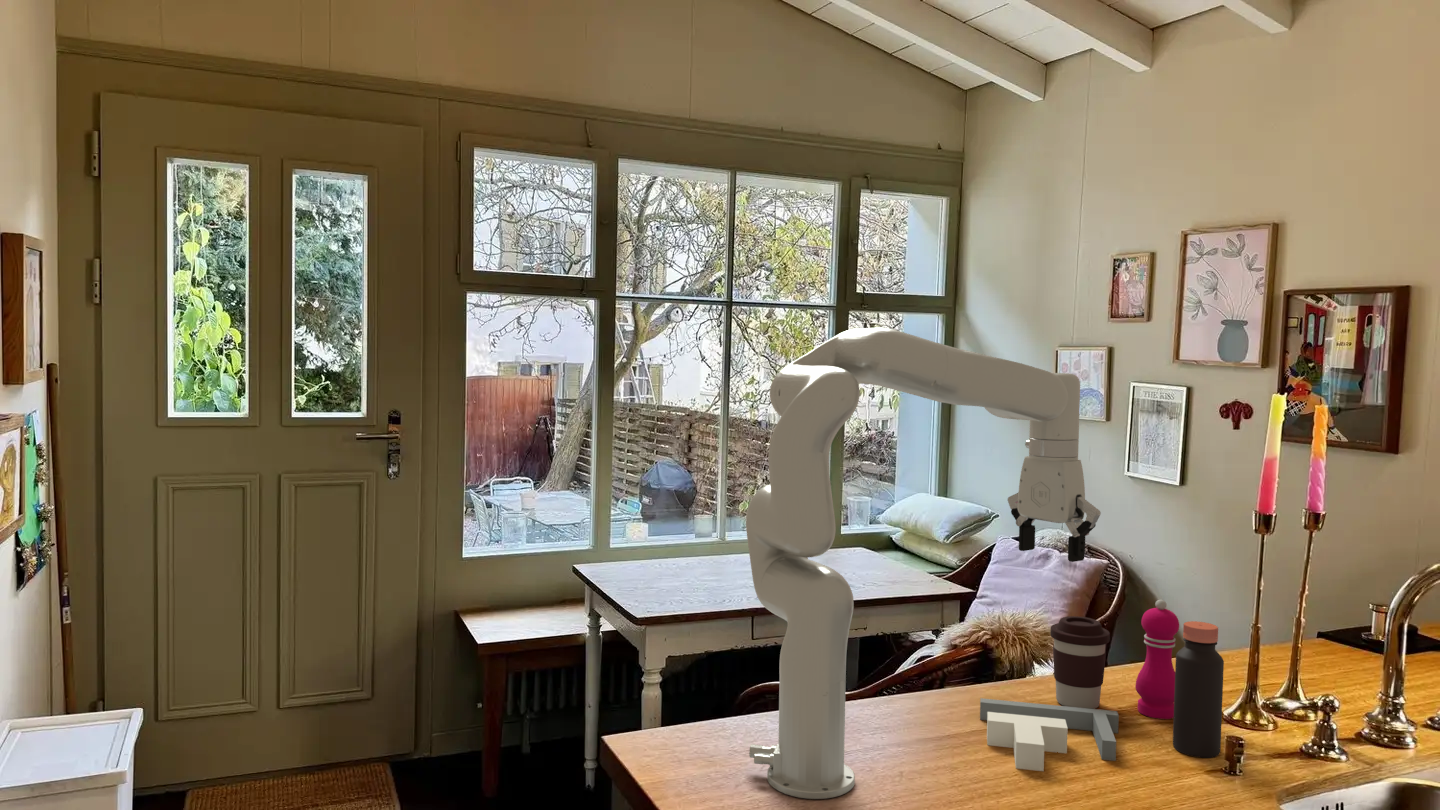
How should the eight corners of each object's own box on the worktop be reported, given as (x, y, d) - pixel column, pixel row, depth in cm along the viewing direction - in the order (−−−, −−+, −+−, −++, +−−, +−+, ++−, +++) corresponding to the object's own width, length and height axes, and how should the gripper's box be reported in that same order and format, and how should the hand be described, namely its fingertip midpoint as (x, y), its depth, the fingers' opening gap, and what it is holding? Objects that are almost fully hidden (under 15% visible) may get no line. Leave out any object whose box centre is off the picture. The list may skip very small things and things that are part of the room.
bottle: (1182, 738, 159) (1186, 617, 158) (1226, 750, 155) (1231, 625, 154) (1165, 749, 155) (1170, 624, 154) (1211, 762, 150) (1216, 634, 149)
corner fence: (980, 746, 155) (981, 727, 155) (979, 715, 169) (980, 698, 168) (1129, 762, 150) (1130, 743, 150) (1116, 728, 163) (1116, 711, 163)
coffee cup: (1112, 701, 177) (1115, 619, 176) (1101, 717, 168) (1103, 631, 168) (1056, 690, 182) (1058, 610, 181) (1042, 706, 174) (1044, 622, 173)
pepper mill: (1184, 722, 167) (1189, 606, 166) (1139, 718, 168) (1143, 603, 167) (1174, 707, 174) (1178, 596, 173) (1130, 704, 175) (1134, 593, 174)
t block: (988, 765, 148) (988, 739, 148) (986, 735, 160) (987, 711, 159) (1071, 774, 145) (1072, 748, 145) (1064, 743, 157) (1065, 719, 157)
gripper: (995, 446, 162) (993, 548, 163) (1084, 455, 148) (1081, 568, 149) (1026, 444, 166) (1023, 544, 167) (1115, 453, 152) (1112, 562, 153)
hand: (1050, 555), depth 158 cm, fingers open, 9 cm apart
